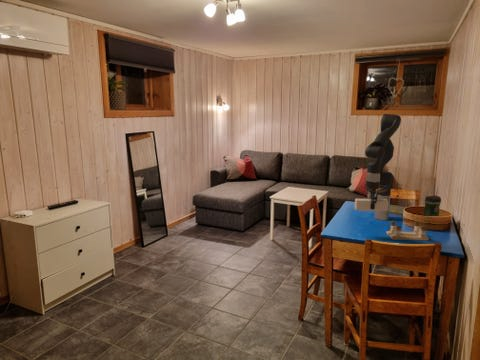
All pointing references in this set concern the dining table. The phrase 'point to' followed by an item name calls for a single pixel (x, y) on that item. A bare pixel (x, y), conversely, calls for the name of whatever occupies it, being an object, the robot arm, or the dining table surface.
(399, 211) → the decorative tile
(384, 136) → the robot arm
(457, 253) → the dining table surface
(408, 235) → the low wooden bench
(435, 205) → the coffee jar
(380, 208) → the beige long block
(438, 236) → the dining table surface
